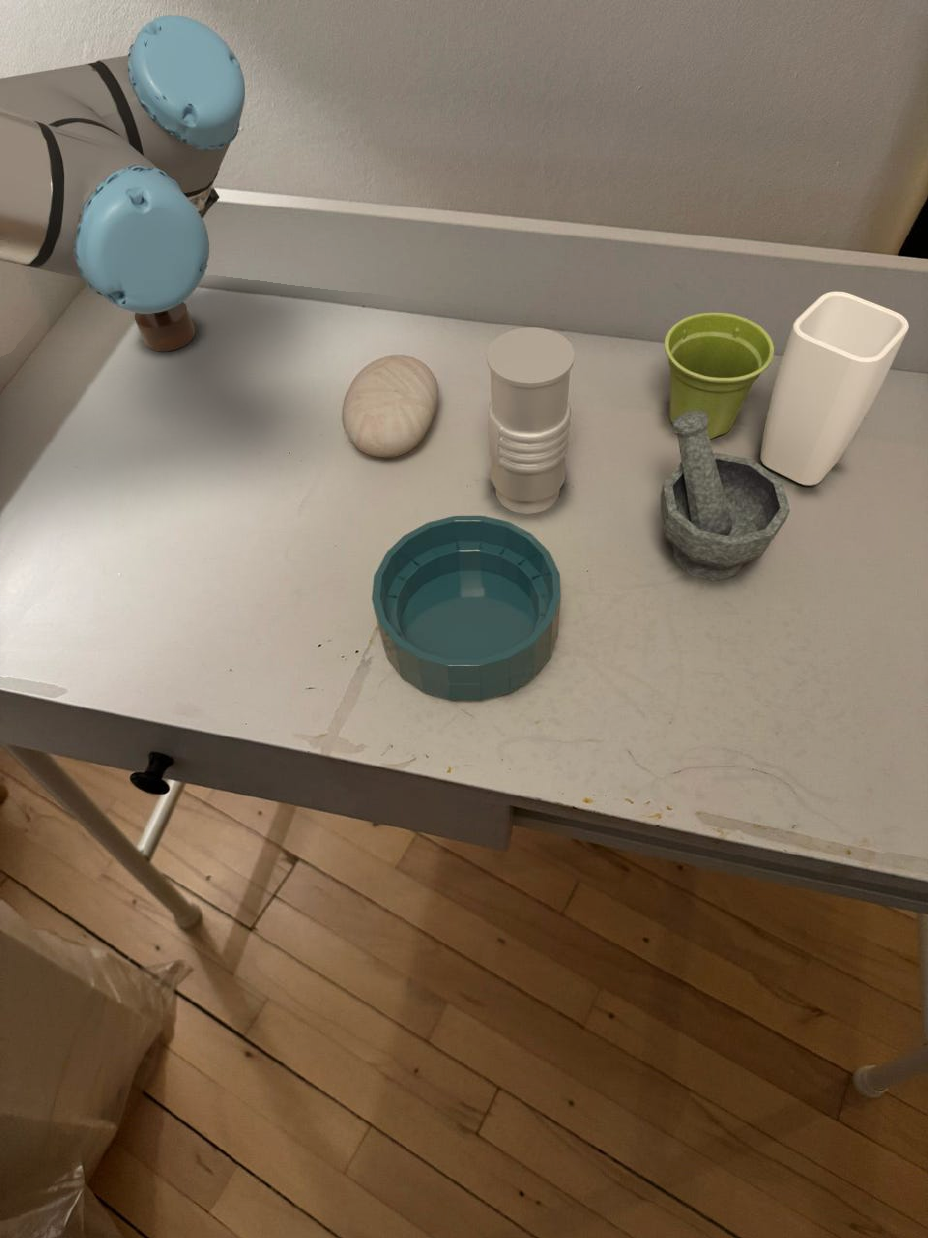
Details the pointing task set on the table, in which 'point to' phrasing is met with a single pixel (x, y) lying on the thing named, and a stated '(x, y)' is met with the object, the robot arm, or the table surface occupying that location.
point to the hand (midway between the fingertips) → (133, 278)
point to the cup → (828, 383)
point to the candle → (529, 417)
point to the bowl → (467, 607)
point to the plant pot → (715, 366)
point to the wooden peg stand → (166, 328)
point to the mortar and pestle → (718, 505)
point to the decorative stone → (390, 405)
